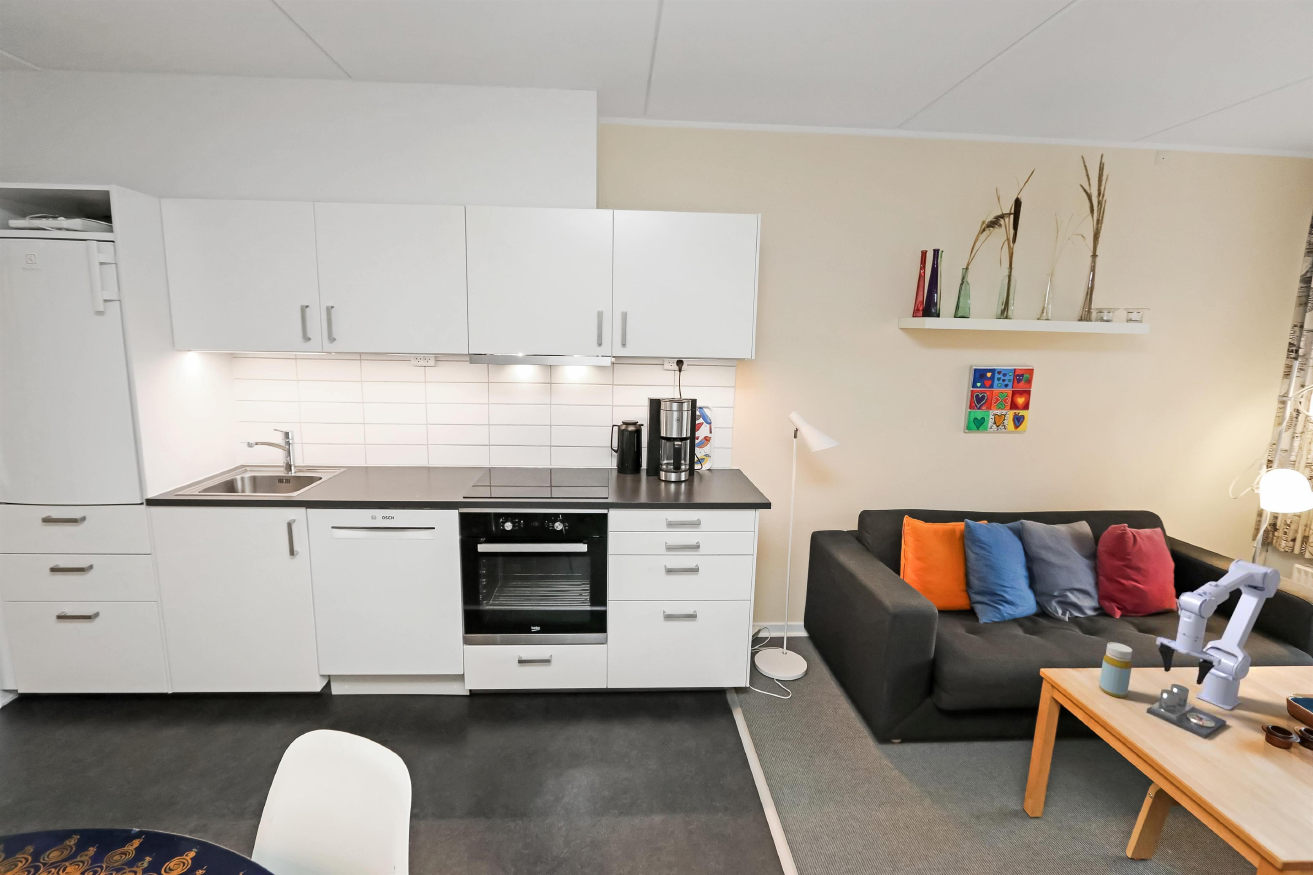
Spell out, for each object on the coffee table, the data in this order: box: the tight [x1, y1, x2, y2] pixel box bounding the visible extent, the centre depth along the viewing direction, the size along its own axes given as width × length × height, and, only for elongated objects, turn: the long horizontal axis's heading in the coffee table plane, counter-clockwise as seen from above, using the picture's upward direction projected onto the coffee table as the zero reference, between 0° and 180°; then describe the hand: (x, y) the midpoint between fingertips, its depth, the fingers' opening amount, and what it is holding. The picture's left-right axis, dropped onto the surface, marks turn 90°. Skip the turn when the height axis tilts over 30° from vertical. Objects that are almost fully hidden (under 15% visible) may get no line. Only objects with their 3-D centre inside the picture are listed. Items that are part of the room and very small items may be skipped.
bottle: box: [1099, 641, 1133, 699], centre depth 186 cm, size 7×7×15 cm
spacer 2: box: [1170, 683, 1190, 707], centre depth 178 cm, size 4×4×5 cm
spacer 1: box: [1158, 688, 1179, 713], centre depth 175 cm, size 4×4×5 cm
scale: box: [1146, 701, 1227, 739], centre depth 175 cm, size 14×14×2 cm
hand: (1183, 676), depth 178 cm, fingers open, 7 cm apart
